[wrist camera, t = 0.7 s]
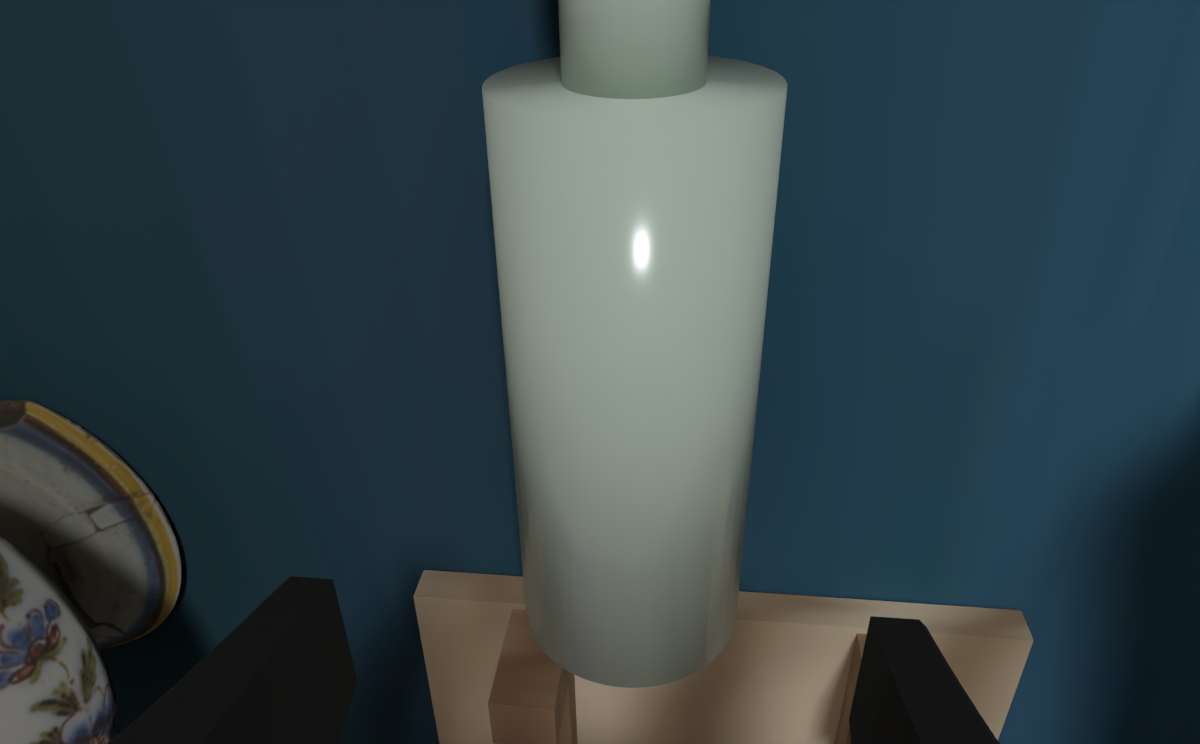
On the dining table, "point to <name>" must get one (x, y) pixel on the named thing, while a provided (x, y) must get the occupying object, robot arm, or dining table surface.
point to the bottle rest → (704, 699)
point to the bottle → (633, 328)
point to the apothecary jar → (72, 575)
